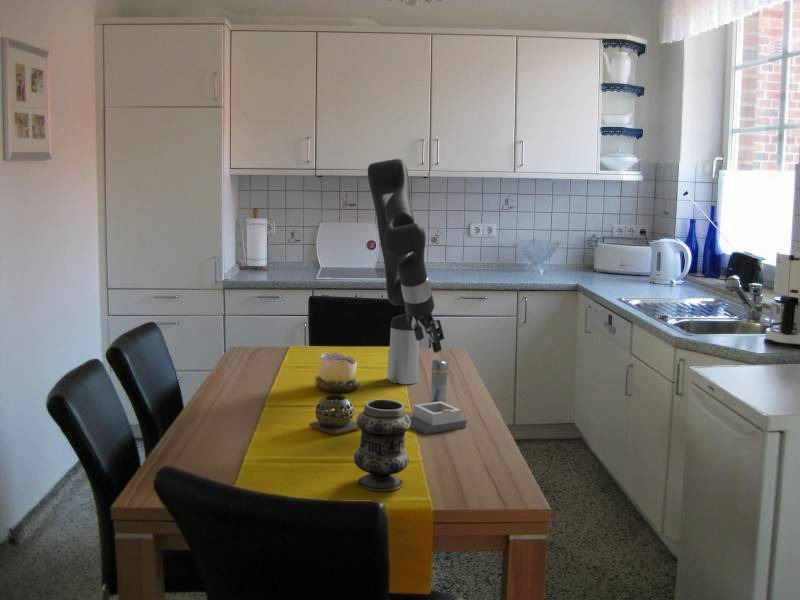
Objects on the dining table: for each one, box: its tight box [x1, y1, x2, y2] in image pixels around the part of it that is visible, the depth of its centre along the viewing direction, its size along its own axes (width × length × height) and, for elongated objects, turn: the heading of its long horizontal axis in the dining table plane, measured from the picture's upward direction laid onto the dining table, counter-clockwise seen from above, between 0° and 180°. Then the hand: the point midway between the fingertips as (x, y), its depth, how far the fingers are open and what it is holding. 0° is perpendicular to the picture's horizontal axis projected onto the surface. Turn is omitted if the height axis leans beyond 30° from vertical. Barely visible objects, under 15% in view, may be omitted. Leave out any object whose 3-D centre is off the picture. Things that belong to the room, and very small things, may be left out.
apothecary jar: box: [353, 398, 411, 492], centre depth 191 cm, size 12×12×18 cm
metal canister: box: [429, 359, 449, 404], centre depth 249 cm, size 5×5×14 cm
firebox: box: [406, 401, 468, 435], centre depth 235 cm, size 11×13×6 cm
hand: (428, 345), depth 239 cm, fingers open, 8 cm apart
